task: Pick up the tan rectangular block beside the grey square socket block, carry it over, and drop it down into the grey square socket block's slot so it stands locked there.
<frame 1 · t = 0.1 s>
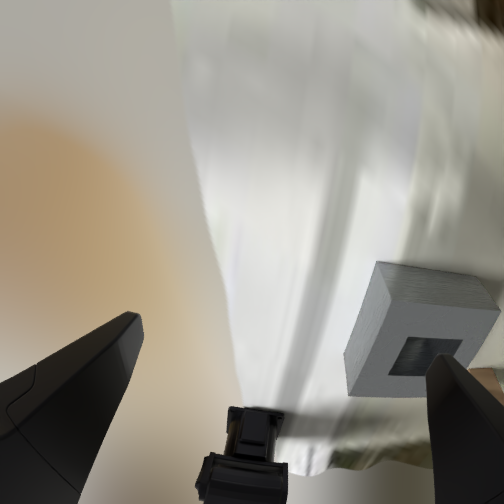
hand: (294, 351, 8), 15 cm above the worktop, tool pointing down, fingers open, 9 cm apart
grey square socket block: (410, 318, 25), on the worktop
tan rectangular block: (474, 377, 28), on the worktop
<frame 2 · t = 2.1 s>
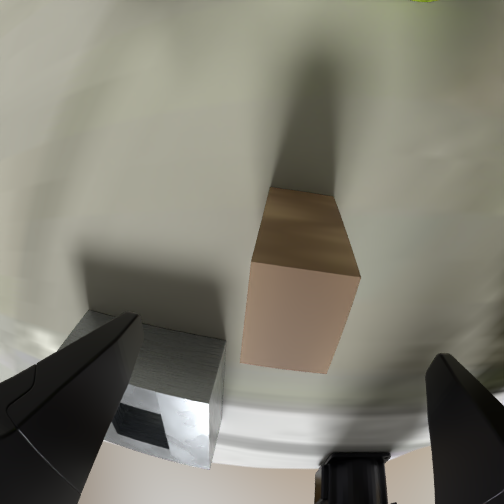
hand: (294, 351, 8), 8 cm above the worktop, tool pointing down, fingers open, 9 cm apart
grey square socket block: (158, 373, 22), on the worktop
tan rectangular block: (295, 230, 15), on the worktop
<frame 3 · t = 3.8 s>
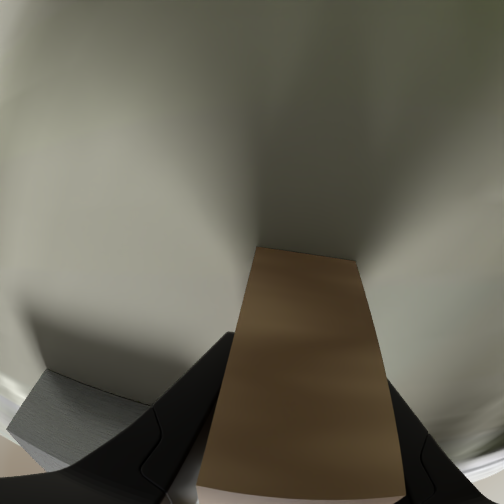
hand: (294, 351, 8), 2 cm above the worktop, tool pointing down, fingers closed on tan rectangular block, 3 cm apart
grey square socket block: (132, 437, 17), on the worktop
tan rectangular block: (295, 307, 10), on the worktop, touching gripper
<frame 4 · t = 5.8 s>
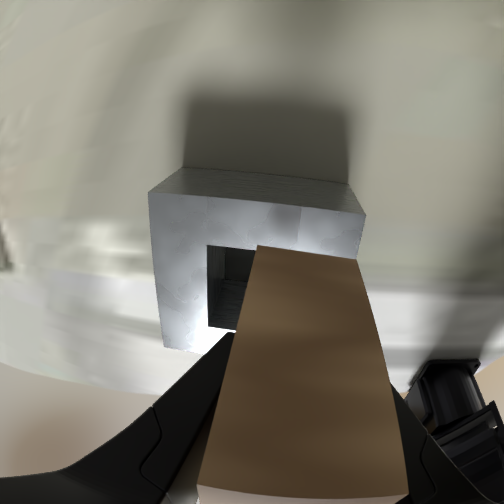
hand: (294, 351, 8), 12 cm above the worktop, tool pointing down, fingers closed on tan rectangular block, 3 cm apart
grey square socket block: (257, 249, 21), on the worktop
tan rectangular block: (296, 305, 10), point 10 cm above the worktop, touching gripper
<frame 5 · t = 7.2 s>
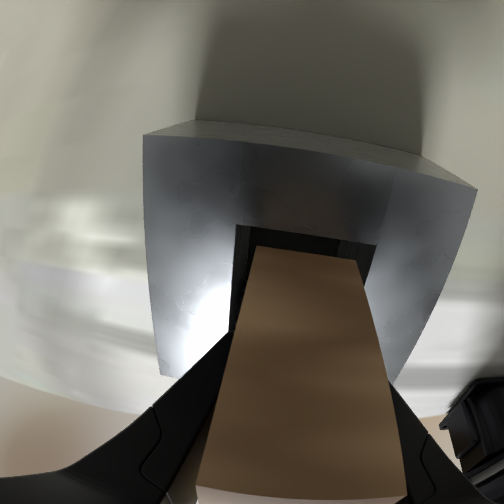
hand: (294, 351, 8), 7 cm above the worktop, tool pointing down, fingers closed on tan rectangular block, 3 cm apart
grey square socket block: (294, 240, 15), on the worktop
tan rectangular block: (295, 306, 10), point 5 cm above the worktop, touching gripper
when the fingers open (6 cm above the worktop, at t = 8.1 s): tan rectangular block drops 4 cm, resting in grey square socket block.
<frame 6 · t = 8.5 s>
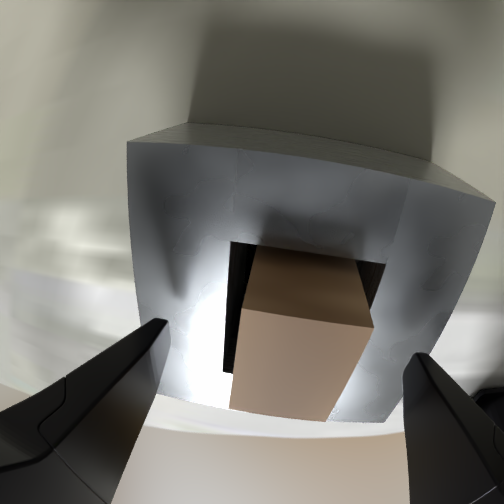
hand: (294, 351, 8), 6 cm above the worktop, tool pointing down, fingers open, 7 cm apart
grey square socket block: (295, 251, 14), on the worktop
tan rectangular block: (295, 250, 14), resting in grey square socket block
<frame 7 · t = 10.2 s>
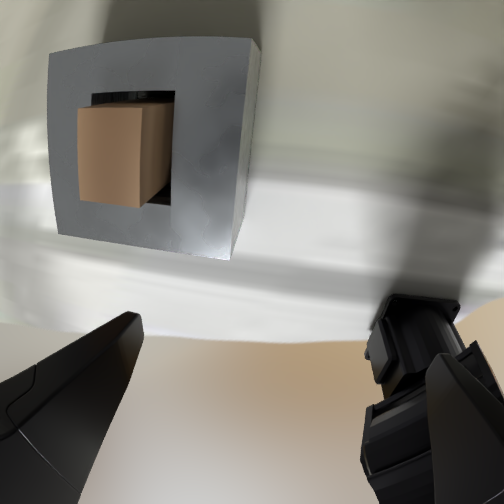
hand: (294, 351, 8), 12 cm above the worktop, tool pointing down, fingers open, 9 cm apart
grey square socket block: (167, 131, 17), on the worktop
tan rectangular block: (167, 131, 17), resting in grey square socket block
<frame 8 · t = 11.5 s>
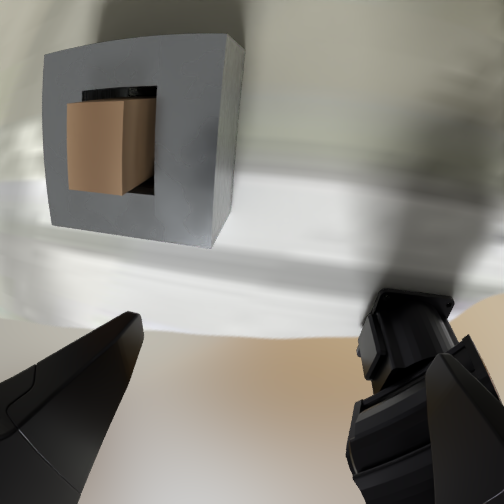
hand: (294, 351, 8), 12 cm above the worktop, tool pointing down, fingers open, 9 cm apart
grey square socket block: (156, 127, 18), on the worktop
tan rectangular block: (156, 127, 18), resting in grey square socket block
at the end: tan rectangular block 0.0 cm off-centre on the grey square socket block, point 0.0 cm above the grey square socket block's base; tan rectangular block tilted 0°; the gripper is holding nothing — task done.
